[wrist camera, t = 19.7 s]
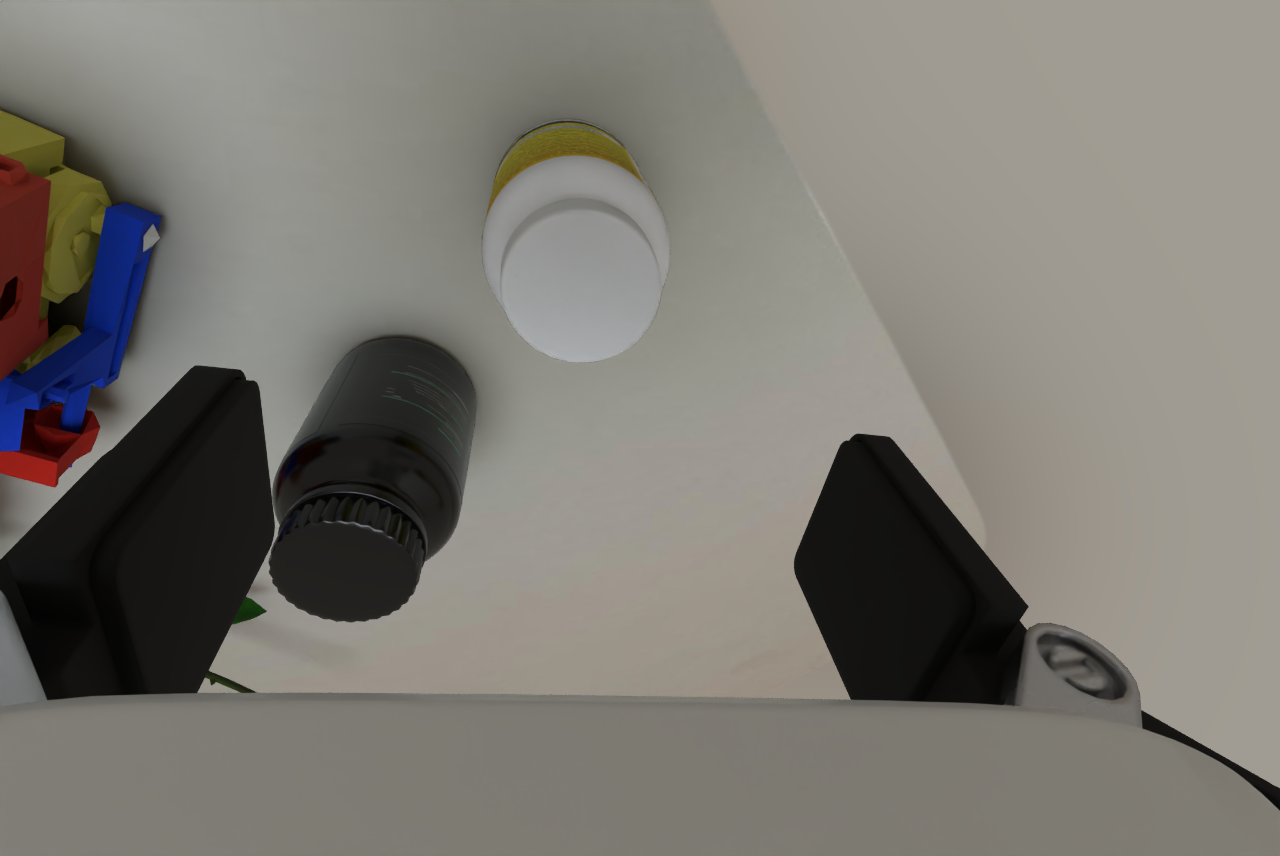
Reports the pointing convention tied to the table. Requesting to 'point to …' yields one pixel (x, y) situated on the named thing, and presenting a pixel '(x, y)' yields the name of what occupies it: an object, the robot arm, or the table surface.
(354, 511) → the supplement bottle
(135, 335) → the table surface
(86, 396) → the toy train
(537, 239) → the pill bottle
